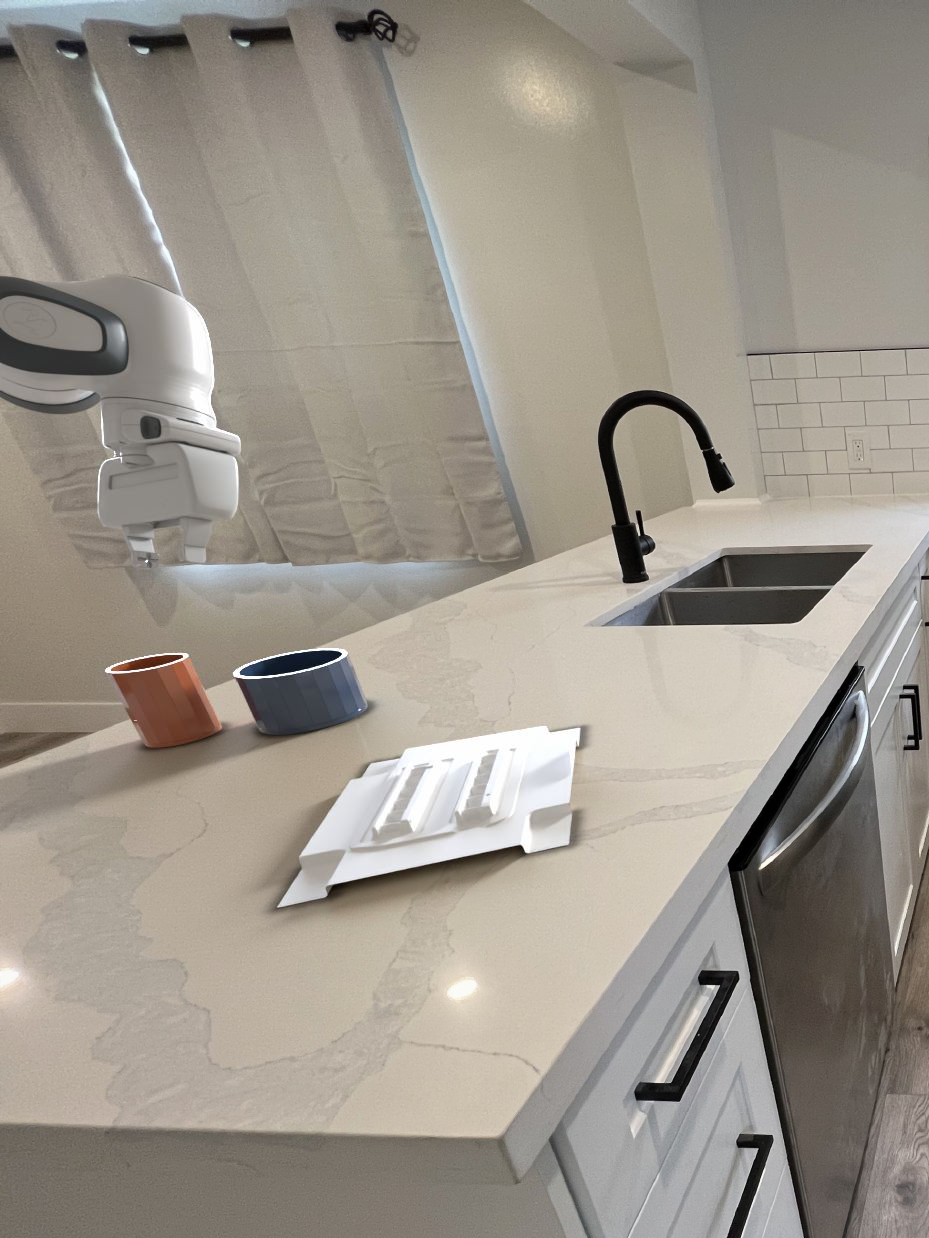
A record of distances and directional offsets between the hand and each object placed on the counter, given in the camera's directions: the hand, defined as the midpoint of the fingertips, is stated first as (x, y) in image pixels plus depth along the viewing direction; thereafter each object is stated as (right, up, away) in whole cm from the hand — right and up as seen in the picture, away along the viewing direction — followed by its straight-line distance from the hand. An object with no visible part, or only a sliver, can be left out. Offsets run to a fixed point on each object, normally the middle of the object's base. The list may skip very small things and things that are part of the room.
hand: (168, 565), depth 88 cm
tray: (+41, -25, -13) cm, 50 cm away
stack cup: (+9, -17, +8) cm, 21 cm away
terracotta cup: (-3, -19, +4) cm, 20 cm away
